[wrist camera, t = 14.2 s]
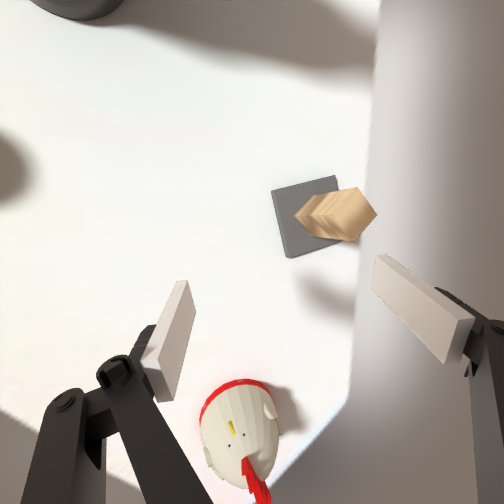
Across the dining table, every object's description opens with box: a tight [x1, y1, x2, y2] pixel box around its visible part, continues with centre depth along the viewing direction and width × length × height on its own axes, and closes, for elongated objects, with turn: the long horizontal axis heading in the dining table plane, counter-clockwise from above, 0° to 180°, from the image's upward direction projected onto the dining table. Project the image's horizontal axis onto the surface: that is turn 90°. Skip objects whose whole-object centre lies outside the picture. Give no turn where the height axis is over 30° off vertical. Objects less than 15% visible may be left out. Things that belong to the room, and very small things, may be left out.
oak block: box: [294, 187, 377, 241], centre depth 36 cm, size 5×5×11 cm
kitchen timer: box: [199, 379, 282, 504], centre depth 37 cm, size 14×14×15 cm
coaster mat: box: [271, 175, 343, 258], centre depth 42 cm, size 12×12×2 cm
